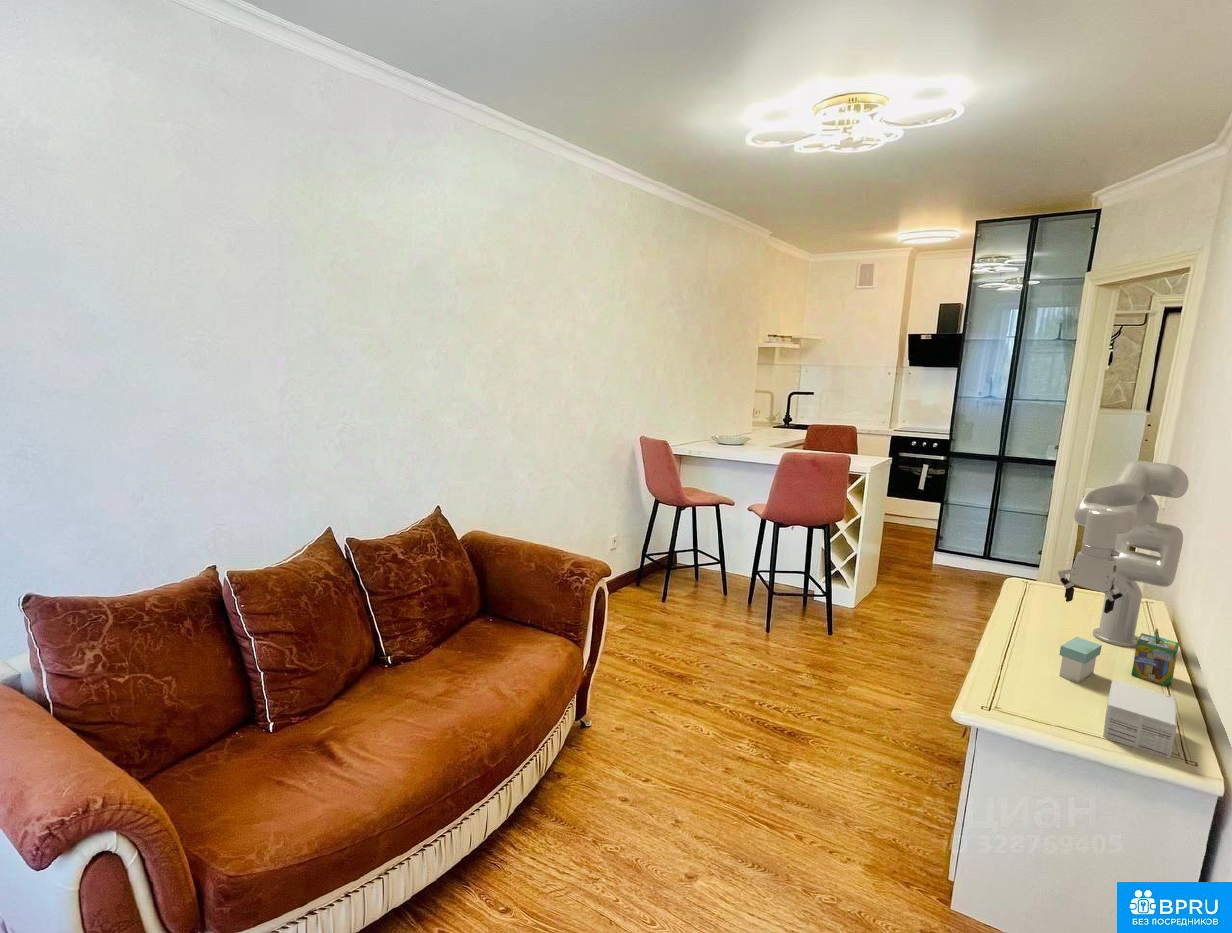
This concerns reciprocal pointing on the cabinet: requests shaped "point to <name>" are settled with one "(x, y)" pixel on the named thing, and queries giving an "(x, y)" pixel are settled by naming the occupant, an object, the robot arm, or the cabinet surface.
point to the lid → (1080, 650)
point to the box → (1076, 669)
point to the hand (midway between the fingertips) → (1087, 606)
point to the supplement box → (1141, 718)
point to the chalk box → (1155, 659)
